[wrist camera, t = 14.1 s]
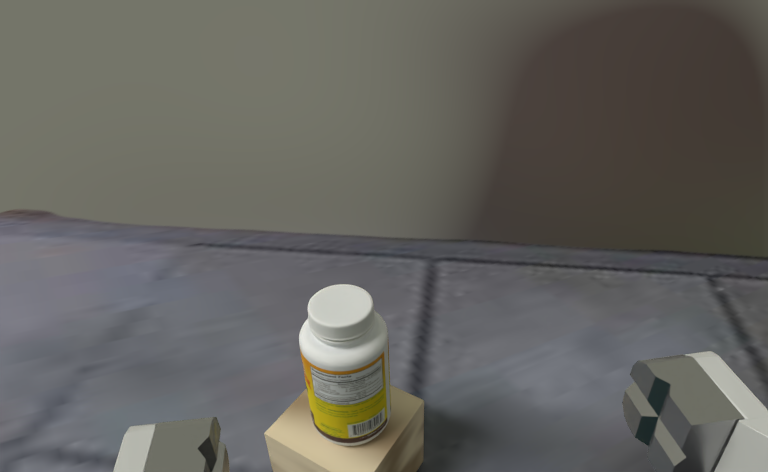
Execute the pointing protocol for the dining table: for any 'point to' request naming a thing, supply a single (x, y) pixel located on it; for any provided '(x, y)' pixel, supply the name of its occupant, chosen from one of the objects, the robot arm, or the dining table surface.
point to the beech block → (348, 463)
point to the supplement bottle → (346, 365)
